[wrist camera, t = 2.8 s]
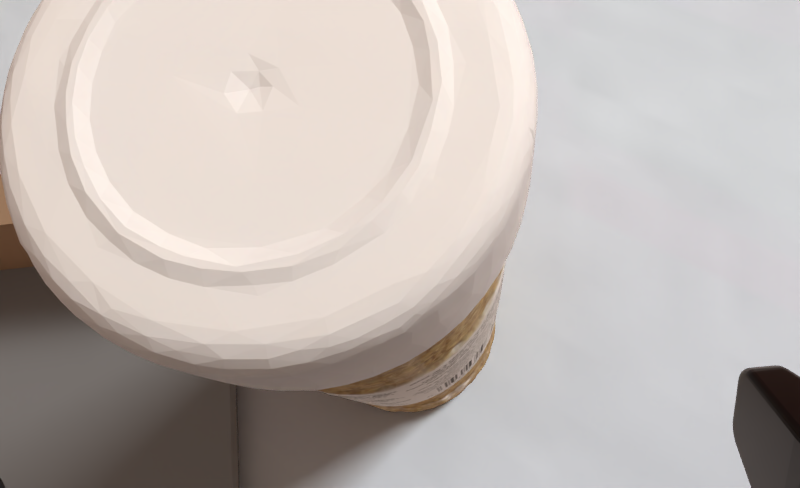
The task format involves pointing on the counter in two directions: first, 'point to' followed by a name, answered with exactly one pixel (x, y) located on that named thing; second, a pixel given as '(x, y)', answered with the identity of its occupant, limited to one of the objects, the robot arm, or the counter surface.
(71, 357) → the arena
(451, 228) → the sprinkles bottle
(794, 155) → the counter surface
